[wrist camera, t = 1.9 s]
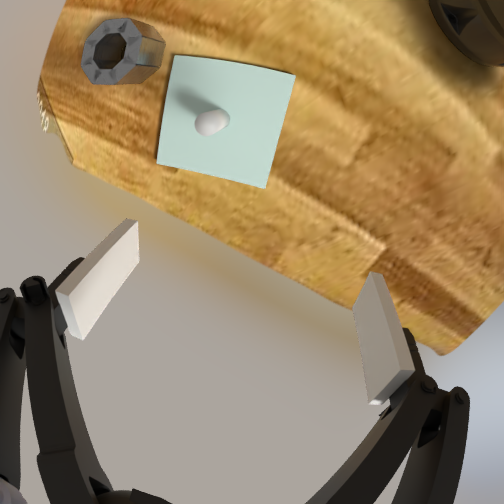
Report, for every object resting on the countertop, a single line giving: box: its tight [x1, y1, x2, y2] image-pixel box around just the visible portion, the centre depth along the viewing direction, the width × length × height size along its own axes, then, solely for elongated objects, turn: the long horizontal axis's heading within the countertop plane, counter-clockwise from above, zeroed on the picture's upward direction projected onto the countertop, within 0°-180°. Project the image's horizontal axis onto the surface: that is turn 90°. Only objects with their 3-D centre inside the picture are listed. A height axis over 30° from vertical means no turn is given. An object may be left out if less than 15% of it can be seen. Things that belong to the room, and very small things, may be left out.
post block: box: [157, 55, 296, 189], centre depth 28 cm, size 14×14×6 cm
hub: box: [81, 18, 166, 85], centre depth 24 cm, size 8×8×6 cm
